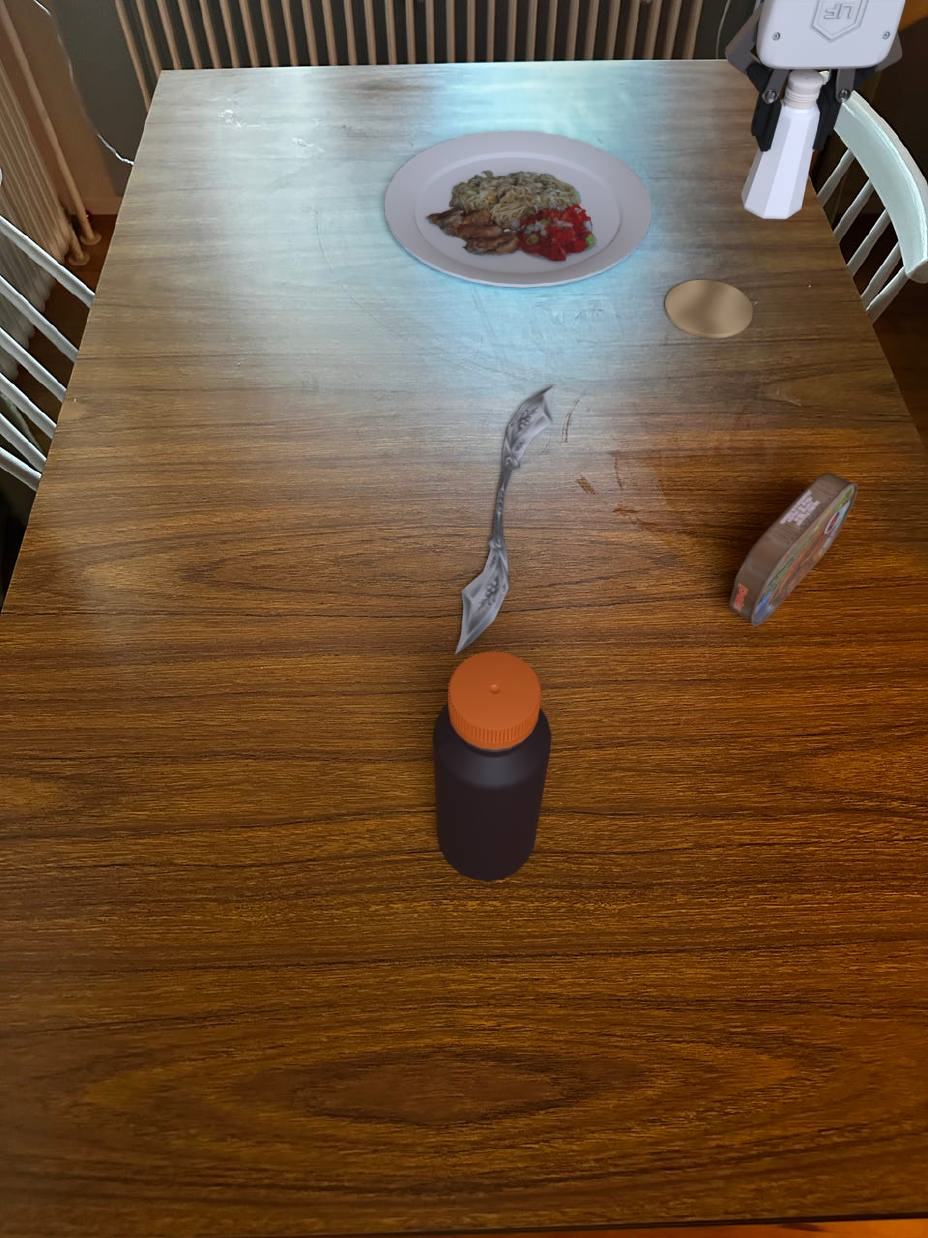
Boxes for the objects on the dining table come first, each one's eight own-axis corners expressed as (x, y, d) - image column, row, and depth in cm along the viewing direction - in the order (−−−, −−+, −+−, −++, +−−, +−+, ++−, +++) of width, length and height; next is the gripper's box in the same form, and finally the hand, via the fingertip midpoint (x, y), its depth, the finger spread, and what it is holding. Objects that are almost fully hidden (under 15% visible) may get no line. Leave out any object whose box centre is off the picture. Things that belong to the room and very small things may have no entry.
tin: (744, 645, 75) (773, 580, 68) (711, 622, 76) (736, 557, 70) (841, 537, 82) (876, 468, 75) (808, 518, 83) (840, 448, 76)
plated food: (444, 126, 119) (444, 98, 117) (678, 175, 113) (683, 147, 111) (340, 261, 103) (337, 233, 101) (606, 327, 97) (610, 299, 95)
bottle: (532, 789, 68) (554, 634, 52) (538, 882, 64) (564, 746, 48) (437, 791, 68) (429, 636, 52) (437, 884, 64) (429, 748, 48)
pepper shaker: (780, 181, 87) (817, 53, 78) (813, 213, 84) (855, 84, 75) (728, 192, 86) (759, 64, 77) (759, 225, 83) (795, 96, 74)
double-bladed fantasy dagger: (559, 388, 92) (508, 381, 92) (559, 383, 91) (509, 376, 92) (509, 665, 74) (447, 655, 74) (509, 661, 73) (447, 651, 74)
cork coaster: (743, 282, 102) (744, 278, 101) (759, 338, 96) (760, 334, 96) (659, 283, 101) (659, 279, 101) (671, 338, 96) (672, 334, 96)
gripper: (752, -97, 63) (696, 168, 78) (1001, -99, 63) (897, 166, 78) (731, -139, 67) (682, 120, 82) (964, -141, 68) (873, 118, 83)
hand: (788, 140), depth 80 cm, fingers closed on pepper shaker, 3 cm apart
